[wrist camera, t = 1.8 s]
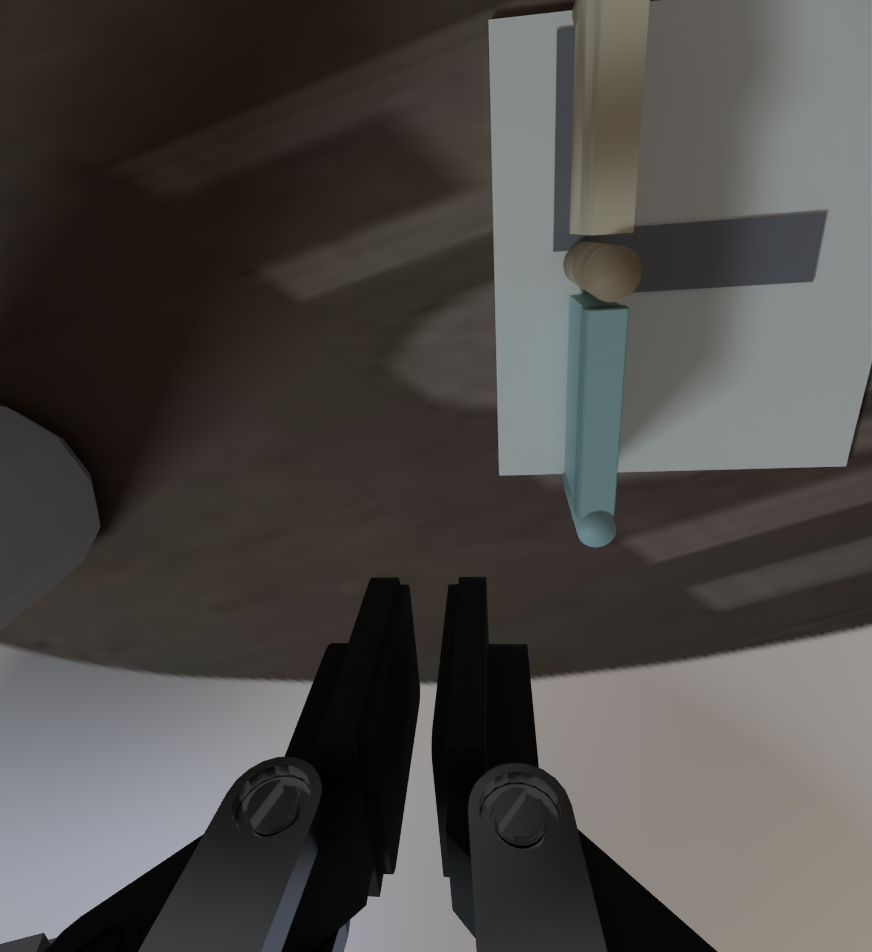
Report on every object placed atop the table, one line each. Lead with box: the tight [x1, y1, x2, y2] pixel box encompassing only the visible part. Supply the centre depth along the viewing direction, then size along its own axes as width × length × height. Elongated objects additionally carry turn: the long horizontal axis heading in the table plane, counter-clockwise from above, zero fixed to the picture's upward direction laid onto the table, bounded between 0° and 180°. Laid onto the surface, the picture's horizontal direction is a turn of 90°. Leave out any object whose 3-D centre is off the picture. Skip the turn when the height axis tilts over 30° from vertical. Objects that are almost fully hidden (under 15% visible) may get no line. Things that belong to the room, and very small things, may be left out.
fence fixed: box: [563, 0, 650, 302], centre depth 18 cm, size 9×2×6 cm, turn 5°
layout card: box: [489, 0, 872, 475], centre depth 22 cm, size 17×15×1 cm
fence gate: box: [562, 294, 629, 547], centre depth 21 cm, size 9×1×5 cm, turn 5°
